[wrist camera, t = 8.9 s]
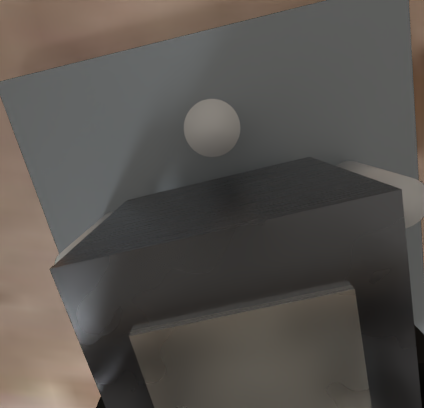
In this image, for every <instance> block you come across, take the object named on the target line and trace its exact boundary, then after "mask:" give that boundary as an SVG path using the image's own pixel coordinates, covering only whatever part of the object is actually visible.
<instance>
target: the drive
mask: <svg viewBox="0 0 424 408" xmlns="http://www.w3.org/2000/svg"><path fill="white" fill-rule="evenodd" d="M50 271H51V274H52V276H53V279H54V281H55V284H56V286H57V289H58V291H59V294H60V296H61V299H62V301H63V303H64V306H65V308H66V311H67V313H68V316H69V318H70V321H71V323H72V326H73V328H74V331H75V333H76V336H77V338H78V340H79V343H80V345H81V348H82V350H83V353H84V355H85V358H86V360H87V363H88V365H89V368H90V370H91V373H92V375H93V377H94V380H95V382H96V385H97V387H98V390H99V392H100V395H101V397H102V400H103V402H104V405H105V407H106V408H422V404H421V393H420V382H419V371H418V360H417V349H416V338H415V328H414V317H413V306H412V295H411V284H410V273H409V262H408V251H407V240H406V230H405V219H404V208H403V197H402V189H400V188H397V187H394V186H391V185H388V184H386V183H383V182H380V181H377V180H374V179H371V178H369V177H366V176H363V175H360V174H357V173H354V172H352V171H349V170H346V169H343V168H340V167H337V166H335V165H332V164H329V163H326V162H323V161H321V160H318V159H315V158H312V157H305V158H301V159H297V160H293V161H289V162H284V163H280V164H276V165H272V166H267V167H263V168H259V169H255V170H251V171H246V172H242V173H238V174H234V175H230V176H225V177H221V178H217V179H213V180H209V181H204V182H200V183H196V184H192V185H188V186H183V187H179V188H175V189H171V190H167V191H162V192H158V193H154V194H150V195H145V196H141V197H137V198H133V199H129V200H126V201H125V202H124V203H123V204H122V205H121V206H120V207H119V208H118V209H116V210H115V211H114V212H113V213H112V214H111V215H110V216H109V217H107V218H106V219H105V220H104V221H103V222H102V223H101V224H100V225H98V226H97V227H96V228H95V229H94V230H93V231H92V232H91V233H89V234H88V235H87V236H86V237H85V238H84V239H83V240H82V241H80V242H79V243H78V244H77V245H76V246H75V247H74V248H73V249H72V250H70V251H69V252H68V253H67V254H66V255H65V256H64V257H63V258H61V259H60V260H59V261H58V262H57V263H56V264H55V265H54V266H52V267H51V268H50Z"/></svg>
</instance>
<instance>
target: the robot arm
mask: <svg viewBox="0 0 424 408" xmlns="http://www.w3.org/2000/svg"><path fill="white" fill-rule="evenodd" d="M414 328H415V338H416V349H417V360H418V371H419V382H420V393H421V404H422V408H424V334H423V333H422V332H421V331H420V330H419V329H418V328H417V327H416V326H415V325H414ZM96 408H106V407H105V405H104V402H103V400H102V397H100V400H99V402H98V405H97V407H96Z"/></svg>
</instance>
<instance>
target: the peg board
mask: <svg viewBox="0 0 424 408" xmlns="http://www.w3.org/2000/svg"><path fill="white" fill-rule="evenodd" d="M0 96H1V99H2V102H3V104H4V107H5V110H6V112H7V115H8V118H9V120H10V123H11V126H12V128H13V131H14V134H15V137H16V139H17V142H18V145H19V147H20V150H21V153H22V155H23V158H24V161H25V163H26V166H27V169H28V171H29V174H30V177H31V179H32V182H33V185H34V187H35V190H36V193H37V195H38V198H39V201H40V203H41V206H42V209H43V211H44V214H45V217H46V219H47V222H48V225H49V227H50V230H51V233H52V236H53V238H54V241H55V244H56V246H57V249H58V252H59V255H58V256H57V258H56V260H55V264H56V263H57V262H58V261H59V260H60V259H61V258H63V257H64V256H65V255H66V254H67V253H68V252H69V251H70V250H72V249H73V248H74V247H75V246H76V245H77V244H78V243H79V242H80V241H82V240H83V239H84V238H85V237H86V236H87V235H88V234H89V233H91V232H92V231H93V230H94V229H95V228H96V227H97V226H98V225H100V224H101V223H102V222H103V221H104V220H105V219H106V218H107V217H109V216H110V215H111V214H112V213H113V212H114V211H115V210H116V209H118V208H119V207H120V206H121V205H122V204H123V203H124V202H125V201H126V200H129V199H133V198H137V197H141V196H145V195H150V194H154V193H158V192H162V191H167V190H171V189H175V188H179V187H183V186H188V185H192V184H196V183H200V182H204V181H209V180H213V179H217V178H221V177H225V176H230V175H234V174H238V173H242V172H246V171H251V170H255V169H259V168H263V167H267V166H272V165H276V164H280V163H284V162H289V161H293V160H297V159H301V158H305V157H312V158H315V159H318V160H321V161H323V162H326V163H329V164H332V165H335V166H337V167H340V168H343V169H346V170H349V171H352V172H354V173H357V174H360V175H363V176H366V177H369V178H371V179H374V180H377V181H380V182H383V183H386V184H388V185H391V186H394V187H397V188H400V189H402V197H403V208H404V219H405V230H406V240H407V251H408V262H409V273H410V284H411V295H412V306H413V317H414V325H415V326H416V327H417V328H418V329H419V330H420V331H421V332H422V333H423V334H424V267H423V249H422V231H421V219H422V218H423V217H424V184H423V183H422V182H421V181H419V176H418V158H417V140H416V122H415V104H414V86H413V68H412V50H411V32H410V13H409V0H326V1H322V2H318V3H314V4H310V5H306V6H302V7H298V8H294V9H289V10H285V11H281V12H277V13H273V14H269V15H265V16H261V17H257V18H253V19H249V20H245V21H241V22H237V23H233V24H229V25H225V26H221V27H217V28H213V29H209V30H205V31H201V32H197V33H193V34H189V35H185V36H181V37H177V38H173V39H169V40H165V41H161V42H157V43H153V44H149V45H145V46H141V47H137V48H133V49H129V50H125V51H121V52H117V53H113V54H109V55H105V56H101V57H97V58H93V59H89V60H85V61H81V62H77V63H73V64H69V65H64V66H60V67H56V68H52V69H48V70H44V71H40V72H36V73H32V74H28V75H24V76H20V77H16V78H12V79H8V80H4V81H0ZM55 264H54V265H55Z"/></svg>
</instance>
